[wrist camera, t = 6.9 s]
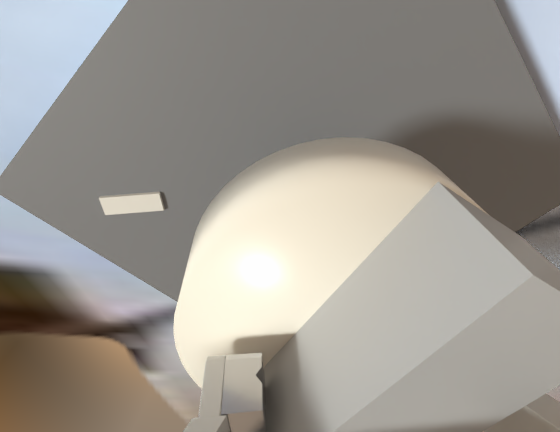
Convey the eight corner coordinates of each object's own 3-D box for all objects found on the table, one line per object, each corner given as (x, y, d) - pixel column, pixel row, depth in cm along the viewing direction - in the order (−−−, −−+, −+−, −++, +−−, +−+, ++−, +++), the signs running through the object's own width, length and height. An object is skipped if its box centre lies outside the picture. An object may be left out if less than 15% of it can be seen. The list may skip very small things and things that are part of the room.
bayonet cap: (493, 112, 10) (748, 233, 5) (445, 349, 16) (537, 517, 11) (149, 165, 10) (42, 335, 5) (228, 380, 16) (217, 560, 11)
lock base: (557, 173, 21) (704, 258, 14) (288, 347, 28) (300, 459, 21) (335, -258, 11) (456, -639, 5) (14, 171, 18) (-124, 270, 12)
